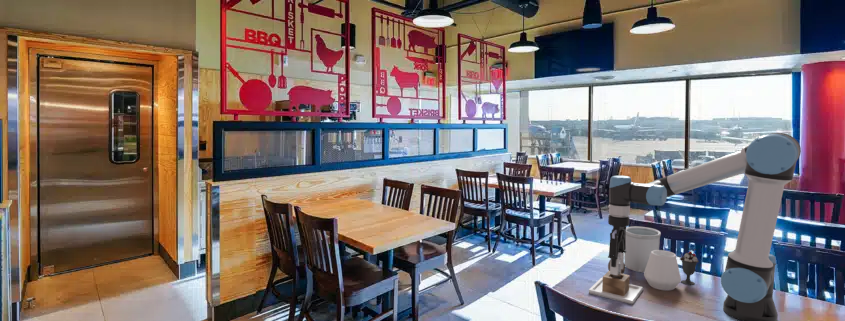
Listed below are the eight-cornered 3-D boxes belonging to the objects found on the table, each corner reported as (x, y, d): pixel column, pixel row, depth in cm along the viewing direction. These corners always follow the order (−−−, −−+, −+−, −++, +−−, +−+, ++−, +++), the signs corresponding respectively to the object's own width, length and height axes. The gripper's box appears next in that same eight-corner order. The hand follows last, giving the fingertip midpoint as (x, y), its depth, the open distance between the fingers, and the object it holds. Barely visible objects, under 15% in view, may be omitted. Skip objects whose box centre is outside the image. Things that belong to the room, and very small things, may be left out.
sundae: (701, 284, 174) (703, 249, 172) (690, 287, 171) (692, 251, 170) (686, 278, 180) (688, 245, 178) (675, 281, 177) (677, 247, 176)
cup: (636, 283, 176) (637, 251, 174) (656, 277, 182) (658, 246, 180) (667, 295, 164) (669, 261, 162) (687, 288, 170) (689, 255, 169)
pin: (621, 289, 168) (622, 251, 165) (618, 292, 165) (620, 254, 163) (612, 287, 170) (614, 250, 167) (610, 290, 167) (611, 252, 165)
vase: (604, 273, 187) (604, 254, 186) (615, 270, 190) (615, 252, 189) (617, 278, 181) (617, 259, 180) (628, 276, 184) (629, 256, 183)
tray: (642, 290, 169) (642, 286, 168) (632, 304, 156) (632, 300, 156) (601, 280, 179) (601, 277, 179) (588, 293, 167) (588, 289, 166)
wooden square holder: (629, 289, 168) (629, 275, 167) (623, 296, 162) (624, 281, 161) (608, 284, 173) (608, 270, 172) (602, 291, 167) (602, 276, 166)
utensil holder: (645, 275, 184) (647, 237, 182) (615, 265, 197) (617, 229, 195) (665, 269, 191) (667, 232, 189) (635, 259, 204) (637, 224, 202)
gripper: (616, 209, 174) (614, 262, 177) (600, 218, 159) (598, 276, 161) (635, 211, 169) (633, 266, 172) (622, 221, 154) (619, 281, 156)
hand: (616, 271), depth 167 cm, fingers open, 7 cm apart
